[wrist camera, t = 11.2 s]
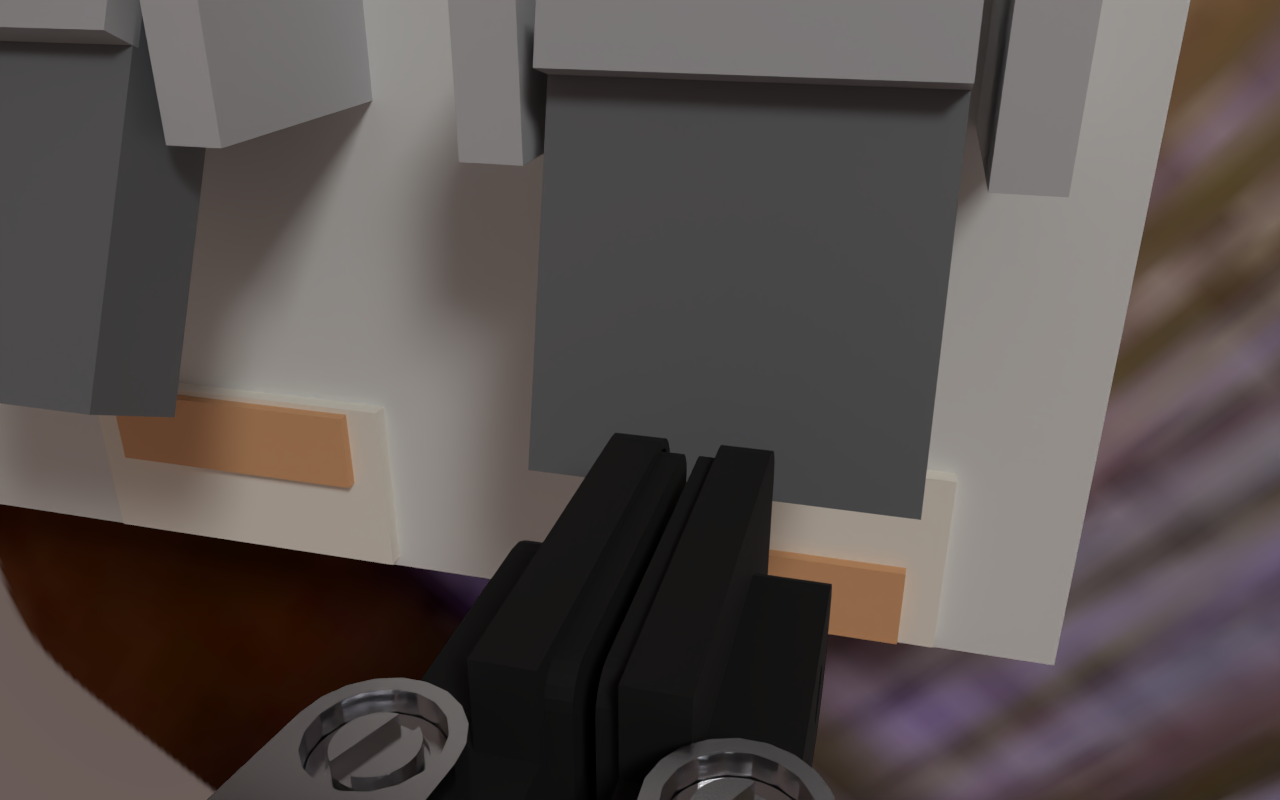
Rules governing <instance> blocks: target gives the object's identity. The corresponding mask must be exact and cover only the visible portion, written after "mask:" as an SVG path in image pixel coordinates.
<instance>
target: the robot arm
mask: <svg viewBox="0 0 1280 800" xmlns="http://www.w3.org/2000/svg"><path fill="white" fill-rule="evenodd" d="M774 465H775V458H774V451H770V450H762V449H753V448H744V447H736V446H727V445H721V446H720V447H719V449H718V452H717V454H716V456H715V458H712V457H704V456H699V457H698V459H697V461H696V463H695V465H694V467H693V470H692V472H691V474H690V476H689V478H688V481H687V483H686V476H687V462H686V456H685V454H679V453H670V448H669V442H668V440H667V439H666V438H658V437H650V436H641V435H632V434H624V433H614V434H613V435H612V437H611V438H610V440H609V441H608V443H607V444H606V446H605V447H604V449H603V451H602V452H601V454H600V455H599V457H598V458H597V460H596V461H595V463H594V464H593V466H592V467H591V469H590V471H589V472H588V474H587V475H586V477H585V478H584V480H583V481H582V483H581V484H580V486H579V488H578V489H577V491H576V492H575V494H574V495H573V497H572V498H571V500H570V501H569V503H568V504H567V506H566V508H565V509H564V511H563V512H562V514H561V515H560V517H559V518H558V520H557V521H556V523H555V524H554V526H553V528H552V529H551V531H550V532H549V534H548V535H547V537H546V538H545V540H544V541H543V543H542V542H535V541H528V540H524V541H519V542H518V543H517V544H516V545H515V546H514V547H513V548H512V549H511V551H510V552H509V554H508V555H507V557H506V558H505V560H504V561H503V562H502V564H501V565H500V567H499V568H498V570H497V571H496V573H495V574H494V575H493V577H492V578H491V580H490V581H489V583H488V584H487V586H486V587H485V588H484V590H483V591H482V593H481V594H480V596H479V597H478V599H477V600H476V601H475V603H474V604H473V606H472V607H471V609H470V610H469V612H468V613H467V614H466V616H465V617H464V619H463V620H462V622H461V623H460V625H459V626H458V627H457V629H456V630H455V632H454V633H453V635H452V636H451V638H450V639H449V640H448V642H447V643H446V645H445V646H444V648H443V649H442V650H441V652H440V653H439V655H438V656H437V658H436V659H435V661H434V662H433V663H432V665H431V666H430V668H429V669H428V671H427V672H426V674H425V675H424V676H423V678H422V679H421V681H418V680H412V679H407V678H383V679H372V680H368V681H364V682H359V683H355V684H351V685H347V686H345V687H342V688H340V689H338V690H336V691H333V692H331V693H329V694H327V695H325V696H322V697H321V698H319V699H318V700H317V701H315V702H314V703H312V704H311V705H310V706H308V707H307V708H306V709H304V710H303V711H302V712H300V713H299V714H298V715H297V716H296V717H295V718H294V719H293V720H292V721H290V722H289V723H288V724H287V725H286V726H285V727H284V728H283V729H282V730H281V731H280V732H279V733H278V734H277V735H276V736H274V737H273V738H272V739H271V740H270V741H269V742H268V743H267V744H266V745H265V746H264V747H263V748H262V749H261V750H260V751H258V752H257V753H256V754H255V755H254V756H253V757H252V758H251V759H250V760H249V761H248V762H247V763H246V764H245V765H243V766H242V767H241V768H240V769H239V770H238V771H237V772H236V773H235V774H234V775H233V776H232V777H231V778H230V779H229V780H227V781H226V782H225V783H224V784H223V785H222V786H221V787H220V788H219V789H218V790H217V791H216V792H215V793H214V794H213V795H211V796H210V797H209V798H208V799H207V800H835V799H834V796H833V793H832V791H831V790H830V789H829V787H828V786H827V784H826V783H825V782H824V780H823V779H822V778H821V776H820V775H819V774H818V772H817V771H816V770H814V769H813V768H812V762H813V756H814V749H815V742H816V735H817V728H818V721H819V713H820V705H821V697H822V689H823V680H824V671H825V661H826V651H827V641H828V630H829V619H830V608H831V596H832V584H829V583H822V582H815V581H808V580H801V579H794V578H787V577H780V576H773V575H768V562H769V546H770V531H771V515H772V499H773V483H774Z"/></svg>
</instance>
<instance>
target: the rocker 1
mask: <svg viewBox="0 0 1280 800" xmlns="http://www.w3.org/2000/svg"><path fill="white" fill-rule="evenodd" d="M205 151H206V148H205V147H188V146H171V145H166V142H165V136H164V131H163V126H162V120H161V115H160V109H159V104H158V98H157V93H156V87H155V82H154V76H153V71H152V66H151V60H150V55H149V49H148V44H147V38H146V33H145V27H144V22H143V16H142V11H141V6H140V0H0V403H1V404H8V405H16V406H24V407H32V408H40V409H48V410H56V411H64V412H71V413H79V414H87V415H112V416H145V417H175V410H176V401H177V392H178V384H179V375H180V367H181V358H182V349H183V341H184V332H185V324H186V315H187V306H188V298H189V289H190V280H191V272H192V263H193V255H194V246H195V237H196V229H197V220H198V211H199V203H200V194H201V186H202V177H203V168H204V160H205Z"/></svg>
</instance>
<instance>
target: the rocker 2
mask: <svg viewBox="0 0 1280 800" xmlns="http://www.w3.org/2000/svg"><path fill="white" fill-rule="evenodd" d="M983 4H984V0H536V9H535V30H534V52H533V68H534V69H537V70H539V71H541V72H543V73H546V74H548V79H547V99H546V119H545V140H544V160H543V180H542V201H541V221H540V241H539V261H538V282H537V302H536V322H535V343H534V363H533V383H532V404H531V424H530V444H529V465H528V470H532V471H540V472H548V473H555V474H563V475H571V476H579V477H586V475H587V474H588V472H589V471H590V469H591V467H592V466H593V464H594V463H595V461H596V460H597V458H598V457H599V455H600V454H601V452H602V451H603V449H604V447H605V446H606V444H607V443H608V441H609V440H610V438H611V437H612V435H613V434H614V433H624V434H632V435H641V436H650V437H658V438H666V439H667V440H668V442H669V448H670V453H679V454H685V456H686V462H687V476H686V483H687V481H688V478H689V476H690V474H691V472H692V470H693V467H694V465H695V463H696V461H697V459H698V457H699V456H704V457H712V458H715V456H716V454H717V452H718V449H719V447H720V446H721V445H727V446H736V447H744V448H753V449H762V450H770V451H774V458H775V465H774V483H773V499H772V501H776V502H784V503H792V504H800V505H807V506H815V507H823V508H831V509H839V510H847V511H855V512H863V513H870V514H878V515H886V516H894V517H902V518H910V519H918V520H921V516H922V507H923V499H924V490H925V481H926V473H927V464H928V456H929V447H930V439H931V430H932V421H933V413H934V404H935V396H936V387H937V378H938V370H939V361H940V353H941V344H942V336H943V327H944V318H945V310H946V301H947V293H948V284H949V276H950V267H951V258H952V250H953V241H954V233H955V224H956V215H957V207H958V198H959V190H960V181H961V173H962V164H963V155H964V147H965V138H966V130H967V121H968V112H969V104H970V95H971V89H972V87H973V85H974V81H975V73H976V64H977V56H978V47H979V38H980V30H981V21H982V13H983Z"/></svg>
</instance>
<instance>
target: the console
mask: <svg viewBox="0 0 1280 800" xmlns="http://www.w3.org/2000/svg"><path fill="white" fill-rule="evenodd" d="M1189 4H1190V0H984V4H983V13H982V21H981V30H980V38H979V47H978V56H977V64H976V73H975V81H974V85H973V87H972V89H971V95H970V104H969V112H968V121H967V130H966V138H965V147H964V155H963V164H962V173H961V181H960V190H959V198H958V207H957V215H956V224H955V233H954V241H953V250H952V258H951V267H950V276H949V284H948V293H947V301H946V310H945V318H944V327H943V336H942V344H941V353H940V361H939V370H938V378H937V387H936V396H935V404H934V413H933V421H932V430H931V439H930V447H929V456H928V464H927V473H926V481H925V490H924V499H923V507H922V516H921V520H918V519H910V518H902V517H894V516H886V515H878V514H870V513H863V512H855V511H847V510H839V509H831V508H823V507H815V506H807V505H800V504H792V503H784V502H776V501H772V515H771V531H770V546H769V562H768V575H773V576H780V577H787V578H794V579H801V580H808V581H815V582H822V583H829V584H832V596H831V608H830V619H829V630H828V634H832V635H838V636H845V637H851V638H858V639H864V640H871V641H877V642H884V643H890V644H897V642H899V643H905V644H912V645H918V646H925V647H932V648H933V647H938V648H944V649H951V650H957V651H964V652H971V653H977V654H984V655H990V656H997V657H1003V658H1010V659H1016V660H1023V661H1029V662H1036V663H1042V664H1049V665H1054V663H1055V658H1056V653H1057V649H1058V644H1059V639H1060V634H1061V629H1062V624H1063V619H1064V614H1065V610H1066V605H1067V600H1068V595H1069V590H1070V585H1071V580H1072V575H1073V570H1074V566H1075V561H1076V556H1077V551H1078V546H1079V541H1080V536H1081V531H1082V527H1083V522H1084V517H1085V512H1086V507H1087V502H1088V497H1089V492H1090V488H1091V483H1092V478H1093V473H1094V468H1095V463H1096V458H1097V453H1098V449H1099V444H1100V439H1101V434H1102V429H1103V424H1104V419H1105V414H1106V409H1107V405H1108V400H1109V395H1110V390H1111V385H1112V380H1113V375H1114V370H1115V366H1116V361H1117V356H1118V351H1119V346H1120V341H1121V336H1122V331H1123V327H1124V322H1125V317H1126V312H1127V307H1128V302H1129V297H1130V292H1131V287H1132V283H1133V278H1134V273H1135V268H1136V263H1137V258H1138V253H1139V248H1140V244H1141V239H1142V234H1143V229H1144V224H1145V219H1146V214H1147V209H1148V205H1149V200H1150V195H1151V190H1152V185H1153V180H1154V175H1155V170H1156V165H1157V161H1158V156H1159V151H1160V146H1161V141H1162V136H1163V131H1164V126H1165V122H1166V117H1167V112H1168V107H1169V102H1170V97H1171V92H1172V87H1173V83H1174V78H1175V73H1176V68H1177V63H1178V58H1179V53H1180V48H1181V44H1182V39H1183V34H1184V29H1185V24H1186V19H1187V14H1188V9H1189ZM140 6H141V11H142V16H143V22H144V27H145V33H146V38H147V44H148V49H149V55H150V60H151V66H152V71H153V76H154V82H155V87H156V93H157V98H158V104H159V109H160V115H161V120H162V126H163V131H164V136H165V142H166V145H171V146H188V147H205V148H206V151H205V160H204V168H203V177H202V186H201V194H200V203H199V211H198V220H197V229H196V237H195V246H194V255H193V263H192V272H191V280H190V289H189V298H188V306H187V315H186V324H185V332H184V341H183V349H182V358H181V367H180V375H179V384H178V392H177V401H176V410H175V417H145V416H112V415H87V414H79V413H71V412H64V411H56V410H48V409H40V408H32V407H24V406H16V405H8V404H1V403H0V504H4V505H10V506H17V507H24V508H30V509H37V510H43V511H50V512H56V513H63V514H69V515H76V516H82V517H89V518H95V519H102V520H108V521H115V522H121V523H124V524H129V525H136V526H142V527H149V528H155V529H162V530H168V531H175V532H181V533H188V534H194V535H201V536H208V537H214V538H221V539H227V540H234V541H240V542H247V543H253V544H260V545H266V546H273V547H279V548H286V549H292V550H299V551H305V552H312V553H318V554H325V555H331V556H338V557H345V558H351V559H358V560H364V561H371V562H377V563H384V564H390V565H393V564H396V565H402V566H409V567H415V568H422V569H428V570H435V571H442V572H448V573H455V574H461V575H468V576H474V577H481V578H487V579H491V578H492V577H493V575H494V574H495V573H496V571H497V570H498V568H499V567H500V565H501V564H502V562H503V561H504V560H505V558H506V557H507V555H508V554H509V552H510V551H511V549H512V548H513V547H514V546H515V545H516V544H517V543H518V542H519V541H524V540H528V541H535V542H542V543H543V541H544V540H545V538H546V537H547V535H548V534H549V532H550V531H551V529H552V528H553V526H554V524H555V523H556V521H557V520H558V518H559V517H560V515H561V514H562V512H563V511H564V509H565V508H566V506H567V504H568V503H569V501H570V500H571V498H572V497H573V495H574V494H575V492H576V491H577V489H578V488H579V486H580V484H581V483H582V481H583V480H584V478H585V477H579V476H571V475H563V474H555V473H548V472H540V471H532V470H528V465H529V444H530V424H531V404H532V383H533V363H534V343H535V322H536V302H537V282H538V261H539V241H540V221H541V201H542V180H543V160H544V140H545V119H546V99H547V79H548V74H546V73H543V72H541V71H539V70H537V69H534V68H533V52H534V30H535V9H536V0H140Z"/></svg>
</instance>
